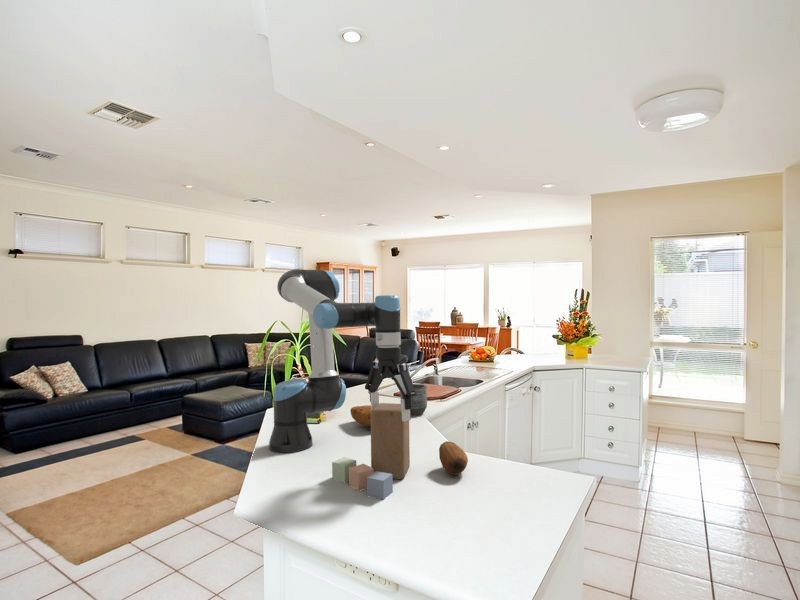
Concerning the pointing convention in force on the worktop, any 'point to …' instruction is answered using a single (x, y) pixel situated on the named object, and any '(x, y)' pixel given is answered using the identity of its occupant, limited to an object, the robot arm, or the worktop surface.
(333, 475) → the sage cube
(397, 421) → the wooden block
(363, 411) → the bread loaf
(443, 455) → the potato
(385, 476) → the slate cube
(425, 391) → the planter
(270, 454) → the worktop surface
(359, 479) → the terracotta cube
